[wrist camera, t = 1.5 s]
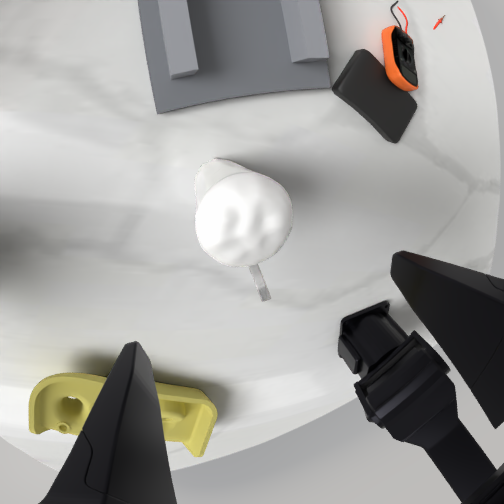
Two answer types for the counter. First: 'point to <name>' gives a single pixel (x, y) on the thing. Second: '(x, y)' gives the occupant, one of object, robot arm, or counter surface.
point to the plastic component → (87, 390)
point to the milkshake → (241, 216)
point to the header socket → (231, 48)
